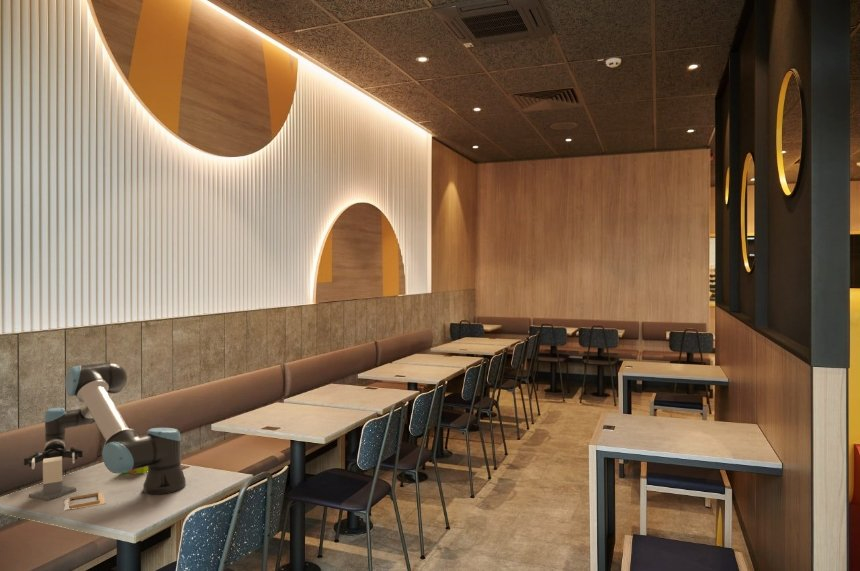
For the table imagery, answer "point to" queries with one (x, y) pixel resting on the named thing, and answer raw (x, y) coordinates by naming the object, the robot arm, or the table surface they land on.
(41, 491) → the slate board
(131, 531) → the table surface
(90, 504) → the tan square frame
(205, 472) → the table surface
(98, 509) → the table surface
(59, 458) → the beige and grey block
